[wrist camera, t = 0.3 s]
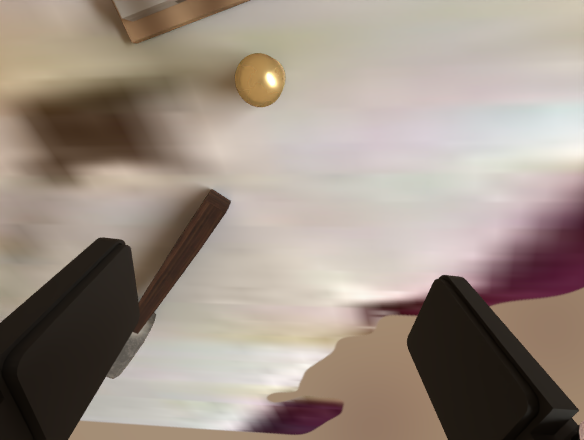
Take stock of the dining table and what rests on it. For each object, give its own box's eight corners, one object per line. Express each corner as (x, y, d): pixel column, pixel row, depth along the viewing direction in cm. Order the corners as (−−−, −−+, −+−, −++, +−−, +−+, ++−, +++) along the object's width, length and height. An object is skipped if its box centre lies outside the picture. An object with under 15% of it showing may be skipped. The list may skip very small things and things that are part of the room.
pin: (279, 51, 30) (274, 45, 22) (289, 91, 32) (289, 98, 24) (244, 64, 31) (227, 62, 23) (256, 102, 32) (245, 113, 25)
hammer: (211, 175, 41) (120, 316, 48) (192, 200, 30) (79, 374, 38) (240, 194, 42) (146, 328, 50) (231, 224, 32) (115, 387, 39)
